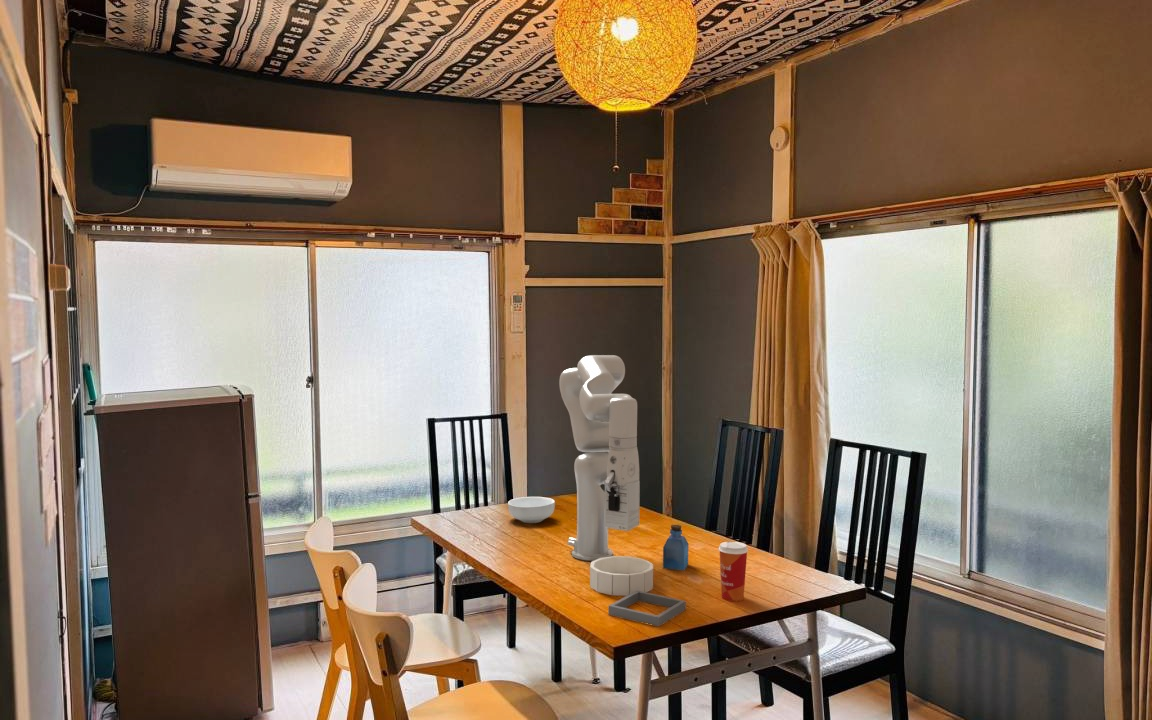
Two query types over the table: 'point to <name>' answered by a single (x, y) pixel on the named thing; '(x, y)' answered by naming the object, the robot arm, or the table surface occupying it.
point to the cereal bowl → (531, 508)
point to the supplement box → (624, 508)
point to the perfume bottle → (675, 550)
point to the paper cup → (733, 570)
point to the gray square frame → (621, 611)
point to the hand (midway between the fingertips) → (622, 506)
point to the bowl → (621, 575)
